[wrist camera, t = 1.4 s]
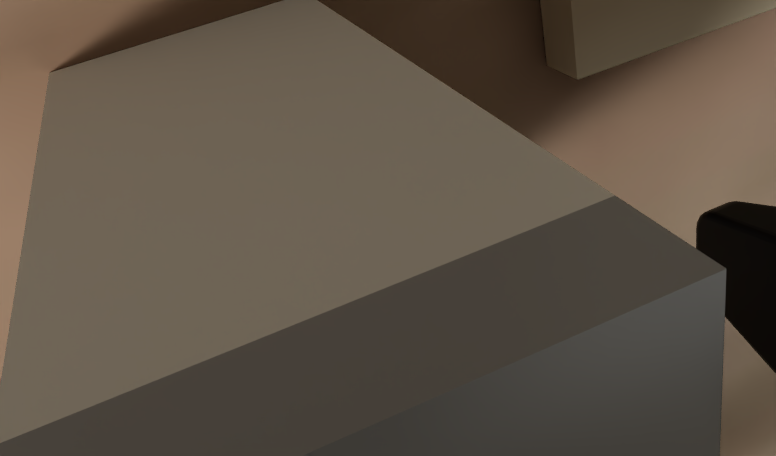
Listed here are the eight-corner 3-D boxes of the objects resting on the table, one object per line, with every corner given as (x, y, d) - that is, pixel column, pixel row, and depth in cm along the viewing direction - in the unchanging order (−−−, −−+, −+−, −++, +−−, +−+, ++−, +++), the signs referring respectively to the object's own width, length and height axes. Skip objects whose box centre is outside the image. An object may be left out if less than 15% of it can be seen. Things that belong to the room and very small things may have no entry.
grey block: (375, 253, 14) (710, 717, 7) (173, 332, 13) (288, 963, 6) (306, -7, 11) (726, 268, 4) (49, 72, 11) (-34, 603, 3)
